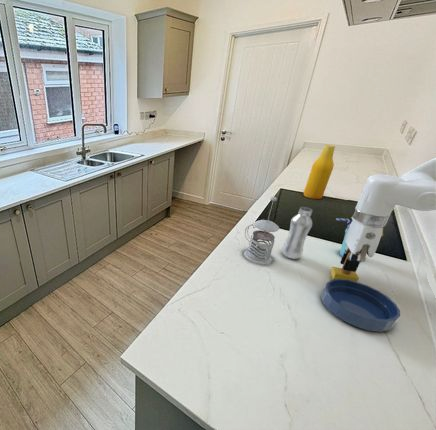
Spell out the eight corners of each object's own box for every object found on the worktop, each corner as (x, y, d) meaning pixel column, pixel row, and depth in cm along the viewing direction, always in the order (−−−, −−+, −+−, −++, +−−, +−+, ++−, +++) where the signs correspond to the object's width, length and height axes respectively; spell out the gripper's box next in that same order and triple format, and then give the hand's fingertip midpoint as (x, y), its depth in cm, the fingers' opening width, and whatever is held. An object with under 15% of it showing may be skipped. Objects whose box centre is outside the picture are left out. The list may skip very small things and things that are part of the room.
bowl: (379, 299, 80) (386, 288, 78) (403, 341, 67) (412, 329, 65) (315, 284, 86) (320, 273, 84) (326, 320, 73) (332, 309, 71)
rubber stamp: (352, 276, 87) (363, 251, 83) (356, 284, 84) (368, 258, 79) (330, 272, 89) (340, 247, 85) (333, 279, 86) (343, 254, 82)
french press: (263, 267, 95) (281, 205, 83) (234, 252, 103) (247, 194, 92) (277, 258, 99) (296, 198, 88) (248, 244, 108) (263, 188, 97)
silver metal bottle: (290, 262, 97) (307, 214, 88) (276, 252, 103) (290, 206, 94) (304, 259, 98) (322, 212, 89) (289, 249, 104) (305, 204, 95)
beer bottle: (323, 195, 152) (342, 145, 138) (320, 200, 146) (339, 148, 132) (304, 192, 157) (321, 143, 144) (301, 196, 151) (317, 146, 138)
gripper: (399, 232, 69) (371, 286, 77) (376, 208, 81) (354, 256, 90) (362, 226, 72) (339, 279, 80) (346, 204, 84) (327, 251, 93)
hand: (347, 267), depth 85 cm, fingers closed on rubber stamp, 2 cm apart
